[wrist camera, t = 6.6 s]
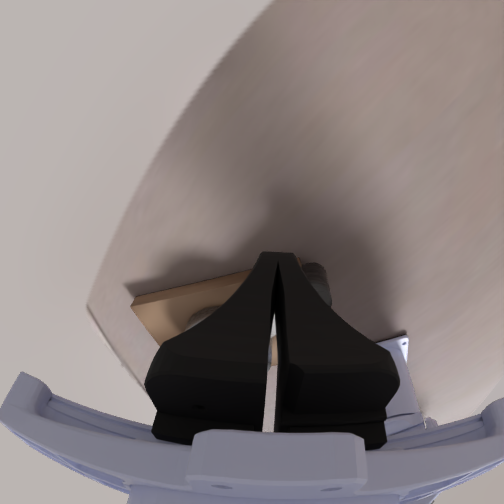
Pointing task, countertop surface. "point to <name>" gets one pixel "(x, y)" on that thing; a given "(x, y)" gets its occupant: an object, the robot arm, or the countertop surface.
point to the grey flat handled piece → (316, 278)
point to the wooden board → (187, 306)
